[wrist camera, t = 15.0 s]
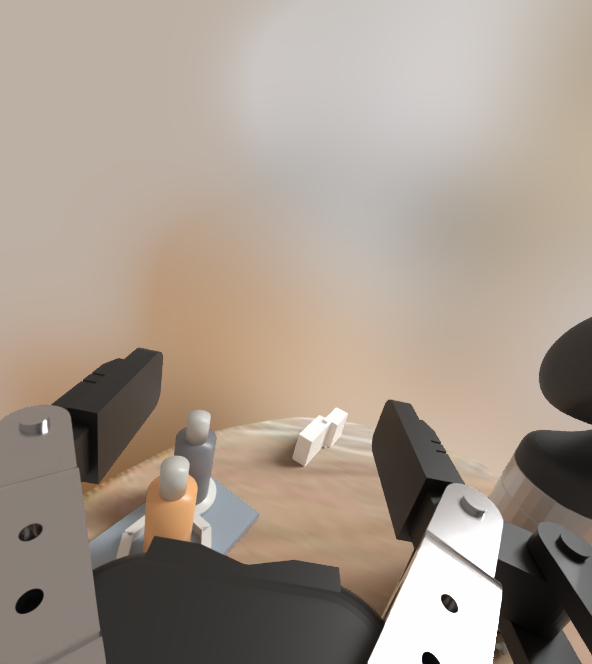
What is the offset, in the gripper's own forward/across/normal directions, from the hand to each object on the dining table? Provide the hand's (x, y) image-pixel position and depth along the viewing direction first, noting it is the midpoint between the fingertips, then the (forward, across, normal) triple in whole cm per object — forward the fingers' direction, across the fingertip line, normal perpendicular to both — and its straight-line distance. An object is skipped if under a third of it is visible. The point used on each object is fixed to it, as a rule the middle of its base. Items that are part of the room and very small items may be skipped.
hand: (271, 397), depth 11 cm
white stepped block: (+34, -11, +31) cm, 47 cm away
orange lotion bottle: (+12, +7, +29) cm, 32 cm away
